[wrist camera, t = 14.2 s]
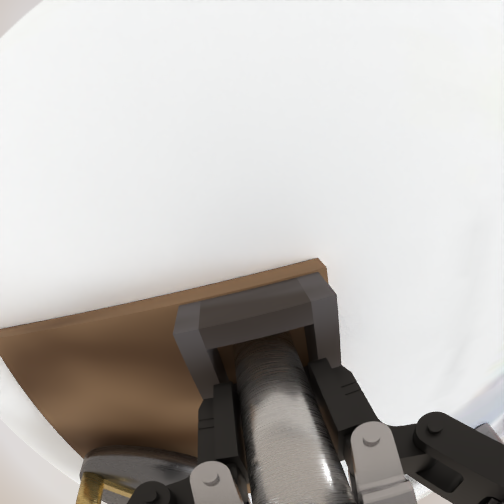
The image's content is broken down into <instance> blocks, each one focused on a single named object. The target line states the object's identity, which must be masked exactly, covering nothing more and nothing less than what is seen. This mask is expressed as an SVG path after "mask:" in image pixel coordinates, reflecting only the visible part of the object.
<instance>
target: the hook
mask: <svg viewBox="0 0 504 504" xmlns="http://www.w3.org/2000/svg"><path fill="white" fill-rule="evenodd" d="M233 352H234V361H235V371H236V380H237V389H238V398H239V406H240V415H241V423H242V431H243V439H244V446H245V454H246V462H247V469H248V476H249V483H250V490H251V497H252V504H356V501H355V499H354V496H353V494H352V491H351V488H350V486H349V483H348V481H347V478H346V475H345V473H344V470H343V468H342V465H341V463H340V460H339V458H338V455H337V452H336V450H335V447H334V445H333V442H332V440H331V437H330V434H329V432H328V429H327V427H326V424H325V422H324V419H323V417H322V414H321V412H320V409H319V406H318V404H317V401H316V399H315V396H314V394H313V391H312V389H311V386H310V384H309V381H308V379H307V376H306V373H305V371H304V368H303V366H302V363H301V361H300V358H299V356H298V353H297V351H296V348H295V346H294V343H293V341H292V338H291V336H290V333H289V332H288V331H285V332H282V333H278V334H274V335H270V336H266V337H262V338H258V339H253V340H249V341H245V342H241V343H236V344H233Z"/></svg>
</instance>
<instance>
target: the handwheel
mask: <svg viewBox="0 0 504 504" xmlns="http://www.w3.org/2000/svg"><path fill="white" fill-rule="evenodd" d="M197 462H198V457H195V456H191V455H188V454H184V453H179V452H175V451H170V450H165V449H159V448H152V447H144V446H133V445H110V446H103V447H98V448H95V449H92V450H91V451H89V452H88V453H87V454H86V455H85V457H84V460H83V464H82V468H81V471H80V480H81V484H80V488H79V492H78V496H77V500H76V504H101V500H102V501H104V502H106V503H107V504H127V502H128V501H129V499H130V498H131V496H132V494H133V493H134V491H135V490H136V488H137V487H138V486H139V485H141V484H142V483H144V482H147V481H157V482H160V483H162V484H164V485H165V486H166V485H169V484H172V483H175V482H178V481H181V480H183V479H185V478H187V477H188V476H190V475H191V473H192V471H193V470H194V468H195V467H196V466H197Z"/></svg>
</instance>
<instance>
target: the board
mask: <svg viewBox="0 0 504 504" xmlns="http://www.w3.org/2000/svg"><path fill="white" fill-rule="evenodd" d="M285 331H288V332H289V333H290V336H291V338H292V341H293V343H294V346H295V348H296V351H297V353H298V356H299V358H300V361H301V363H302V366H303V368H304V371H305V373H306V376H307V379H308V381H309V384H310V377H309V370H308V362H312V361H315V360H319V359H322V358H325V357H326V358H327V360H328V362H329V364H330V366H331V368H335V367H338V366H341V352H340V334H339V319H338V306H337V295H336V293H335V292H334V291H333V289H332V288H331V287H330V286H329V284H328V276H327V268H326V266H325V265H324V264H323V263H322V262H321V261H320V260H319V259H318V258H316V259H312V260H308V261H304V262H300V263H296V264H292V265H288V266H284V267H280V268H276V269H272V270H268V271H264V272H260V273H256V274H252V275H248V276H244V277H240V278H235V279H231V280H227V281H223V282H219V283H215V284H210V285H206V286H202V287H198V288H193V289H189V290H185V291H180V292H176V293H171V294H167V295H163V296H158V297H154V298H149V299H145V300H140V301H136V302H131V303H127V304H122V305H117V306H113V307H108V308H103V309H99V310H94V311H89V312H84V313H80V314H75V315H70V316H65V317H60V318H55V319H50V320H45V321H40V322H35V323H30V324H24V325H19V326H14V327H9V328H3V329H0V356H1V358H2V359H3V361H4V362H5V364H6V366H7V367H8V369H9V370H10V372H11V373H12V375H13V376H14V378H15V379H16V380H17V382H18V383H19V385H20V386H21V388H22V389H23V390H24V392H25V393H26V394H27V396H28V397H29V398H30V400H31V401H32V402H33V404H34V405H35V406H36V407H37V409H38V410H39V411H40V412H41V414H42V415H43V416H44V417H45V418H46V420H47V421H48V422H49V423H50V424H51V425H52V426H53V428H54V429H55V430H56V431H57V432H58V433H59V434H60V435H61V436H62V438H63V439H64V440H65V441H66V442H67V443H68V444H69V445H70V446H71V447H72V448H73V449H74V450H75V451H76V452H77V453H78V454H79V455H80V456H81V457H82V458H83V459H84V457H85V455H86V454H87V453H88V452H89V451H91V450H92V449H95V448H98V447H103V446H110V445H133V446H144V447H152V448H159V449H165V450H170V451H175V452H179V453H184V454H188V455H191V456H195V457H198V409H199V407H200V405H201V403H202V401H203V399H208V398H213V385H214V384H220V383H225V382H230V381H232V382H233V385H234V387H235V390H236V392H237V395H238V389H237V380H236V371H235V361H234V352H233V344H236V343H241V342H245V341H249V340H253V339H258V338H262V337H266V336H270V335H274V334H278V333H282V332H285ZM310 386H311V384H310ZM247 490H248V493H251V490H250V483H249V484H247Z"/></svg>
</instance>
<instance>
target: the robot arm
mask: <svg viewBox="0 0 504 504" xmlns="http://www.w3.org/2000/svg"><path fill="white" fill-rule="evenodd" d="M308 370H309V377H310V384H311V389H312V391H313V394H314V396H315V399H316V401H317V404H318V406H319V409H320V412H321V414H322V417H323V419H324V422H325V424H326V427H327V429H328V432H329V434H330V437H331V440H332V442H333V445H334V447H335V450H336V452H337V455H338V458H339V460H340V461H342V460H345V461H346V464H347V466H348V476H349V483H350V488H351V491H352V494H353V496H354V499H355V501H356V504H417V501H416V497H415V493H414V489H413V486H412V484H411V482H410V481H409V480H407V479H406V478H405V476H404V474H408V475H409V476H410V477H412V478H413V479H415V480H416V481H418V482H419V483H421V484H423V485H424V486H426V487H427V488H429V489H430V490H432V491H433V492H435V493H437V494H438V495H440V496H441V497H443V498H445V499H446V500H448V501H450V502H451V503H453V504H504V443H503V441H502V440H501V439H500V437H499V436H498V435H497V434H496V432H495V431H494V430H493V429H492V427H491V426H490V425H489V424H488V423H486V424H483V425H481V426H480V427H478V428H477V429H473V428H471V427H469V426H467V425H465V424H463V423H461V422H459V421H458V420H456V419H454V418H452V417H450V416H448V415H447V414H444V413H442V412H430V413H427V414H425V415H424V416H422V417H421V418H420V419H419V421H418V422H417V424H411V425H405V426H389V425H386V424H384V423H382V422H381V421H380V420H379V419H378V418H377V416H376V415H375V413H374V411H373V409H372V408H371V406H370V404H369V402H368V400H367V399H366V397H365V395H364V393H363V392H362V391H361V388H360V386H359V385H358V383H357V381H356V379H355V378H354V376H353V374H352V373H351V372H350V371H349V370H347V369H346V368H345V367H343V366H342V365H341V366H338V367H335V368H331V366H330V364H329V362H328V360H327V358H326V357H325V358H322V359H319V360H315V361H312V362H308ZM247 484H249V476H248V469H247V462H246V454H245V446H244V439H243V431H242V423H241V415H240V406H239V398H238V395H237V392H236V390H235V387H234V385H233V382H232V381H230V382H225V383H220V384H214V385H213V398H208V399H203V401H202V403H201V405H200V407H199V409H198V462H197V466H196V467H195V468H194V470H193V471H192V473H191V475H190V476H188V477H187V478H185V479H183V480H181V481H178V482H175V483H172V484H169V485H166V486H165V485H164V484H162V483H160V482H157V481H147V482H144V483H142V484H141V485H139V486H138V487H137V488H136V490H135V491H134V493H133V494H132V496H131V498H130V499H129V501H128V502H127V504H251V502H250V499H249V497H248V490H247Z"/></svg>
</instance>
